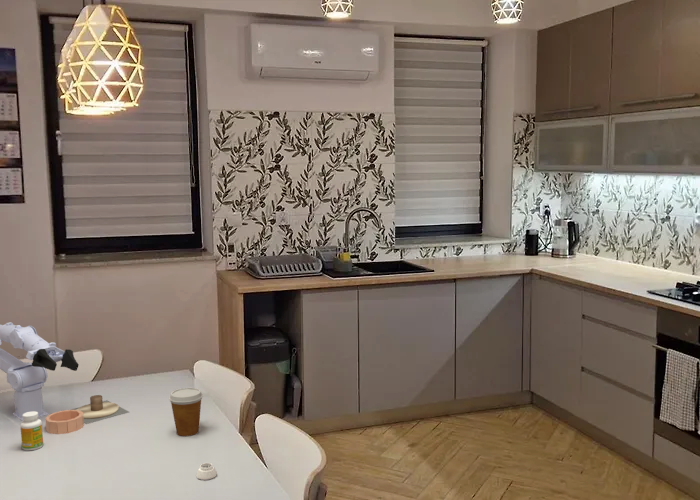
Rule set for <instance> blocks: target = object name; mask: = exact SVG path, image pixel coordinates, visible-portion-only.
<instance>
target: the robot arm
mask: <svg viewBox="0 0 700 500" xmlns="http://www.w3.org/2000/svg"><path fill="white" fill-rule="evenodd" d="M2 341H3V342H4V343H8V344H11V346H12V348H13V349H20V350H24V351H25V352H27V353H26V355H25V358H26V359H28V361H32V362H26V361H25V362H24V361H23V360H21V359H19V358H17V357H16V356H14V355H13V354H11V353H9V351H6V350H5V349H3V348H1V347H0V371H2V372H3V373H6V382H7V383H8V384H9V385H10V387H11V388H12V390H13V391H14V395H13V399H14V411H15V412H12V416H15V417H17V418H18V419H19V420H21V421H22V422H23V421H24V420H23V417H22V415H23V414H24V413H26V412H31V411H35V412H38V418H40V417H44V416H48V415H50V414H49V412H47V411H45V410H44V398H43V396H44V395H43V387H45V383H46V382H47V380H48V371H53V372H54V371H55V370H56V368H57V363H58V362H61V365H60V368H67V369H69V370H71V371H75V372H76V371H77V370H78V368H79V363H78V362H77V360H76V358H75V357H74V351H73V350H72V349H65V350H63V349H61V348H59V347H57V343H56V342H48V341H47V340H45V339H44V338H43V337H41V336H40V335H38V333H37V329H36V328H35V327H34V326H33V325H27V326H24V327H23V326H21V325H20V324H17V325H15V324H14V323H13V322H10V321H9V322H5V324H0V346H1V345H2Z"/></svg>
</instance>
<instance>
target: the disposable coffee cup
mask: <svg viewBox="0 0 700 500" xmlns="http://www.w3.org/2000/svg"><path fill="white" fill-rule="evenodd" d="M203 397H204V396H203V393H202V391H201V389H200V388H196V387H181V388H177V389H175V390H173V391H171V392H170V395H169V397H168V400H169V402H170V404H171V409H172V414H173V419H174V424H175V431H176V435H177V436H180V437H189V436H190V437H191V436H193V435H197V434H199V432H200V421H201V420H200V419H201V408H202V407H201V405H202V399H203Z"/></svg>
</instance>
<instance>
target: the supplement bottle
mask: <svg viewBox="0 0 700 500" xmlns="http://www.w3.org/2000/svg"><path fill="white" fill-rule="evenodd" d="M22 417H23V420H24V421H22V422H20V435H21V438H20V439H21V449H22V450H23V451H36V450H40V448H42V447H43V446H44V437H43V435H44V434H43V424H42V423H43V422H42V420H41V419H39V417H38V412H35V411H31V412H26V413H24V414H23V415H22Z"/></svg>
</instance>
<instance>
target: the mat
mask: <svg viewBox="0 0 700 500" xmlns="http://www.w3.org/2000/svg"><path fill="white" fill-rule="evenodd" d="M102 401H103V402H111V401H109V400H108V399H107V400H102ZM80 407H81V406H80ZM80 407H75V408H72V409H70V410H77V409H78V408H80ZM128 413H130V411H129V410H127V409H125V408H123V407H121V406H119V410H118V411H117V412H116V413H114V414H112V415H110V416H107V417H103V418H97V419H84V425H88V424H89V425H90V424H92V423H95V422H99V421H103V420H107V419H110V418H115V417H118V416H121V415H125V414H128Z"/></svg>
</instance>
